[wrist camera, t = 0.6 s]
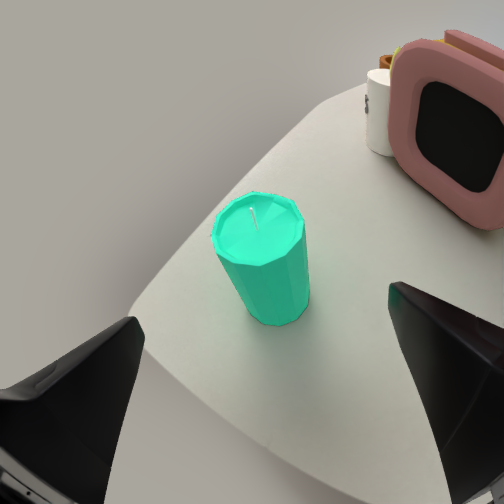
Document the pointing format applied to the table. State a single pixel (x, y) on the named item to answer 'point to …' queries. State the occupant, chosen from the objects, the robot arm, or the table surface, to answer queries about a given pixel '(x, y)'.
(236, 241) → the candle
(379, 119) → the candle
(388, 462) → the table surface
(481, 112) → the alarm clock
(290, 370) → the table surface
